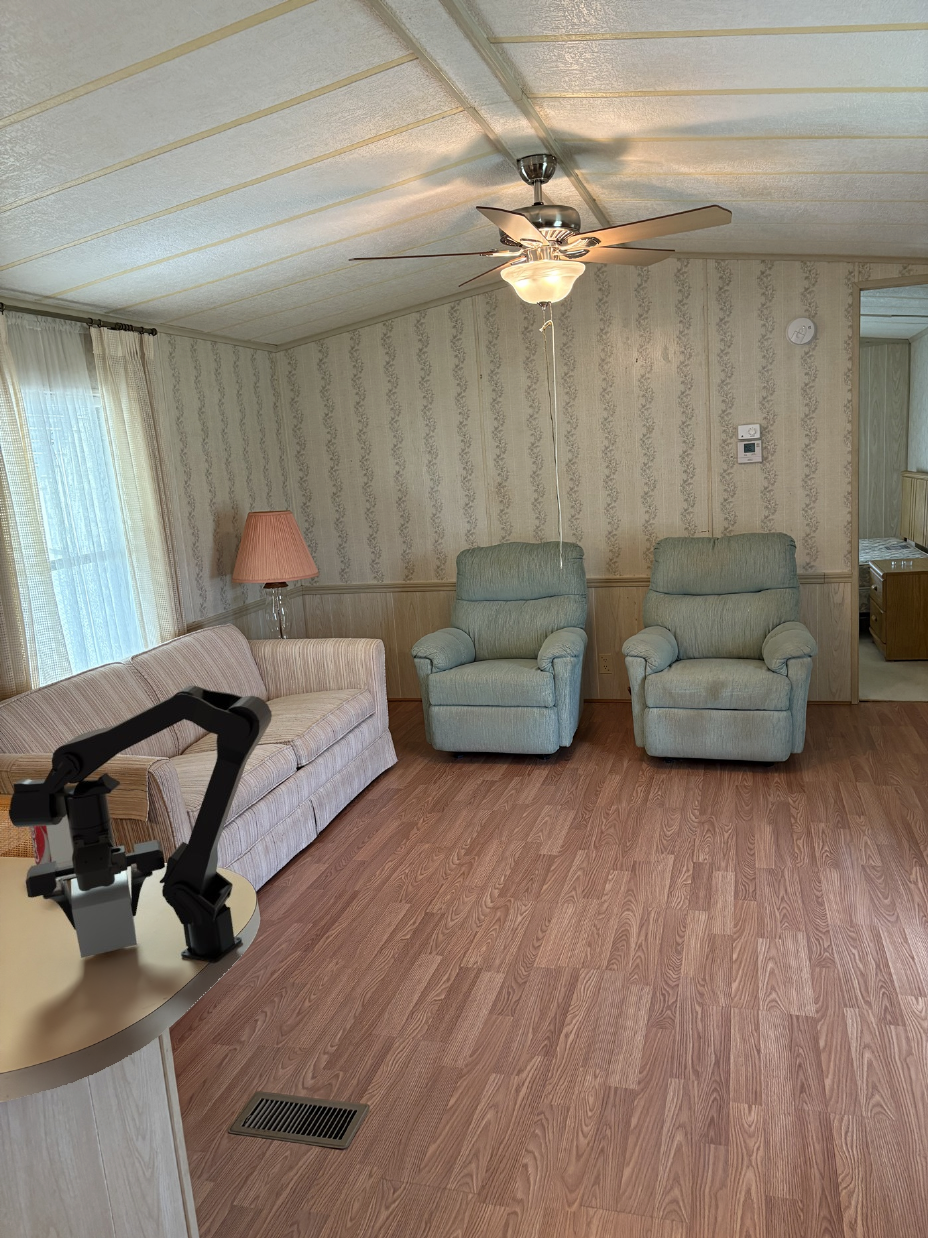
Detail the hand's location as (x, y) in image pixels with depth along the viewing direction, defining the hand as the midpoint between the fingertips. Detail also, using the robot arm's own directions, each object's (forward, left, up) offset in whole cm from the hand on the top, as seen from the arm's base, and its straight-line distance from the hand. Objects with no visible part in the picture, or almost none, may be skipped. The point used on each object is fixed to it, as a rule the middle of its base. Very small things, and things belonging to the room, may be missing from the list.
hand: (105, 922), depth 141 cm
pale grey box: (+1, -1, -2) cm, 3 cm away
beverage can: (+38, -25, -6) cm, 46 cm away
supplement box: (+30, -23, -6) cm, 39 cm away
